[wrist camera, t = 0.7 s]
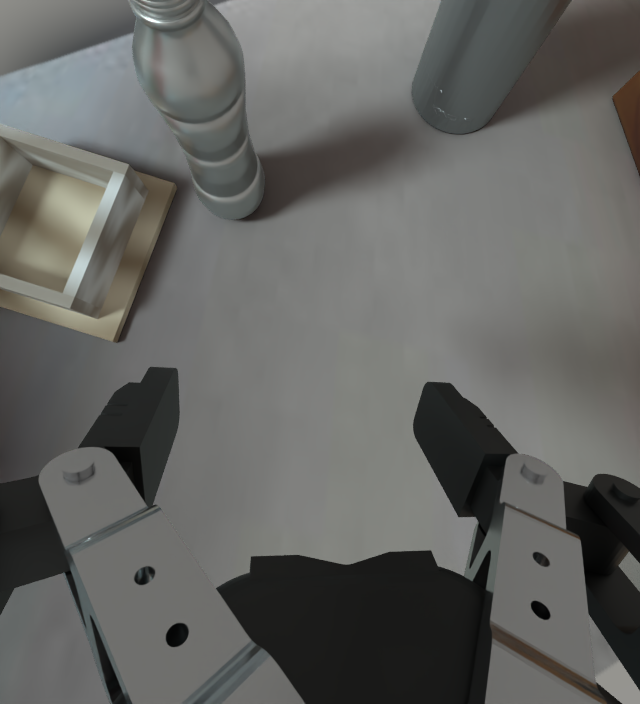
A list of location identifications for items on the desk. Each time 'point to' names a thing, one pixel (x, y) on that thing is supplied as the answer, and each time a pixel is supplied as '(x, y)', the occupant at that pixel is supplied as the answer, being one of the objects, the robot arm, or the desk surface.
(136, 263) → the mounting cradle
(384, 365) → the desk surface
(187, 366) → the desk surface
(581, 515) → the robot arm
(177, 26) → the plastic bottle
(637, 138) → the diary
